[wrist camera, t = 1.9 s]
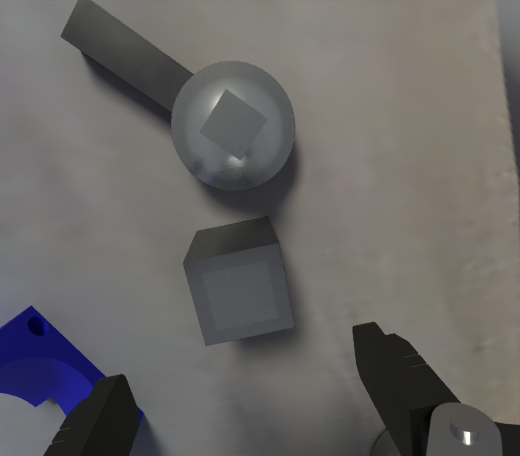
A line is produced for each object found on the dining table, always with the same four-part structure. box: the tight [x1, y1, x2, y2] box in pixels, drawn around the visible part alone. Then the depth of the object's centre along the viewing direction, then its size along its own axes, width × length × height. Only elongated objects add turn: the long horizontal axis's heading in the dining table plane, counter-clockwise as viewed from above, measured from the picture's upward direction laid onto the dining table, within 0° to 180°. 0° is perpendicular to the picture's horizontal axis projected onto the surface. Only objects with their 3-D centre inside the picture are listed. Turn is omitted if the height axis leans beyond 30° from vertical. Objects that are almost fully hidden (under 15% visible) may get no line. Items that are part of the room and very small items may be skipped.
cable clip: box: [0, 306, 144, 427], centre depth 21 cm, size 12×4×6 cm, turn 35°
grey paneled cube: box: [183, 217, 294, 346], centre depth 20 cm, size 5×5×6 cm
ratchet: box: [60, 0, 295, 191], centre depth 16 cm, size 14×7×6 cm, turn 56°
